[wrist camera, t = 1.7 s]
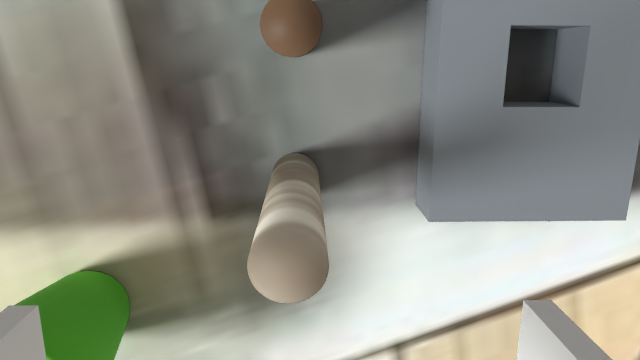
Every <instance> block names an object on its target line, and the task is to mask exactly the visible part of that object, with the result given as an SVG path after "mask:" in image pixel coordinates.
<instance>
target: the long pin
mask: <svg viewBox="0 0 640 360" xmlns="http://www.w3.org/2000/svg"><path fill="white" fill-rule="evenodd" d="M328 269H329V262H328V253H327V244H326V236H325V227H324V218H323V210H322V201H321V192H320V183H319V175H318V169H317V167H316V165H315V163H314V162H313V161H312V160H311V159H310V158H309V157H307V156H305V155H303V154H299V153H292V154H288V155H285V156H283V157H282V158H280V159H279V160H278V161H277V163H276V164H275V166H274V169H273V172H272V176H271V179H270V183H269V186H268V190H267V193H266V197H265V200H264V204H263V207H262V211H261V214H260V218H259V221H258V225H257V228H256V232H255V235H254V239H253V242H252V246H251V249H250V253H249V256H248V261H247V270H248V275H249V278H250V281H251V282H252V284H253V286H254V287H255V288H256V290H257V291H258V292H259V293H260V294H262V295H263V296H265V297H266V298H268V299H270V300H272V301H275V302H279V303H297V302H301V301H304V300H306V299H308V298H310V297H311V296H313V295H314V294H316V293H317V292H318V291H319V290H320V289H321V287H322V286H323V284H324V282H325V281H326V278H327V275H328Z"/></svg>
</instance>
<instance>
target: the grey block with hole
mask: <svg viewBox="0 0 640 360" xmlns="http://www.w3.org/2000/svg"><path fill="white" fill-rule="evenodd" d="M510 29H558V31H557V39H556V48H555V56H554V64H553V72H552V81H551V89H550V97H549V102H503V101H504V91H505V80H506V70H507V60H508V50H509V39H510ZM639 140H640V0H427V8H426V26H425V44H424V62H423V80H422V98H421V116H420V134H419V152H418V170H417V189H416V205H417V207H418V208H419V209H420V211H421V212H422V213H423V215H424V216H425V217H426V219H427V220H428V221H429V222H465V221H604V220H626V216H627V211H628V205H629V199H630V193H631V187H632V181H633V176H634V170H635V164H636V158H637V152H638V146H639Z"/></svg>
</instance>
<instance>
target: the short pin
mask: <svg viewBox="0 0 640 360" xmlns="http://www.w3.org/2000/svg"><path fill="white" fill-rule="evenodd" d="M260 27H261V33H262V36H263V38H264V40H265V42H266V43H267V45H268V46H269V47H270V48H271V49H272V50H273V51H275V52H276V53H278V54H280V55H283V56H288V57H300V56H303V55H305V54H307V53H308V52H310V51H311V50H312V49H313V47H314V46H315V45H316V44H317V42H318V40H319V38H320V36H321V32H322V18H321V14H320V11H319V9H318V7H317V6H316V4H315V3H314V2H313V1H312V0H270V1H269V2H268V3H267V4H266V6H265V8H264V10H263V12H262V15H261V20H260Z"/></svg>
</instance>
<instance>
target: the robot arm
mask: <svg viewBox="0 0 640 360" xmlns="http://www.w3.org/2000/svg"><path fill="white" fill-rule="evenodd" d="M0 360H46V353H45V347H44V340H43V334H42V327H41V321H40V314H39V308H38V305H30V306H8V307H7V308H6V309H4V310H3V311H2V312H1V313H0ZM517 360H612V359H611V358H610V357H609V356H608V355H607V354H606V353H605V352H604V351H603V350H602V349H601V348H600V347H599V346H598V345H597V344H596V343H595V342H594V341H592V340H591V339H590V338H589V337H588V336H587V335H586V334H585V333H584V332H583V331H582V330H581V329H580V328H579V327H578V326H577V325H576V324H575V323H574V322H573V321H572V320H571V319H570V318H569V317H568V316H567V315H566V314H565V313H564V312H563V311H562V310H561V309H560V308H559V307H558V306H557V305H556V304H554V303H553V302H552V301H551V300H523V309H522V318H521V326H520V335H519V343H518V352H517Z"/></svg>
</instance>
